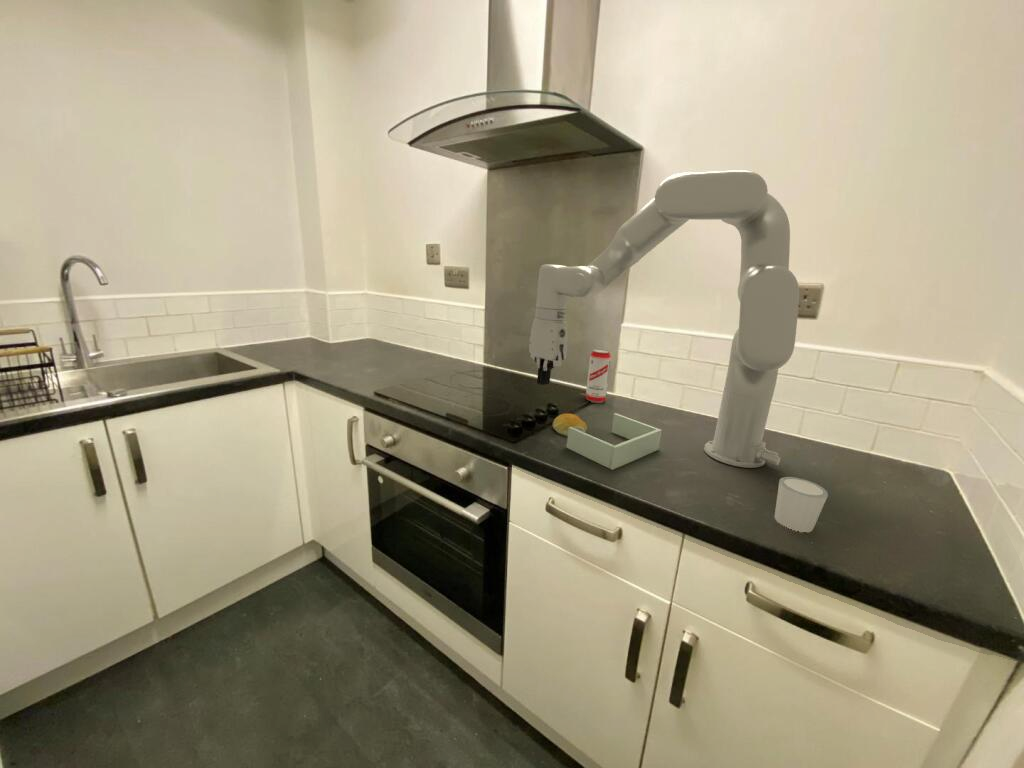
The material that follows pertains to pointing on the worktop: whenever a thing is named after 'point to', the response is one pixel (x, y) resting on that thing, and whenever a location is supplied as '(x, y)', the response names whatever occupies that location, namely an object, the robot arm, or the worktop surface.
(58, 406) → the worktop surface
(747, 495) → the worktop surface
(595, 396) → the beer can
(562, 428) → the bread roll
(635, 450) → the box
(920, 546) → the worktop surface
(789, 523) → the white cup
